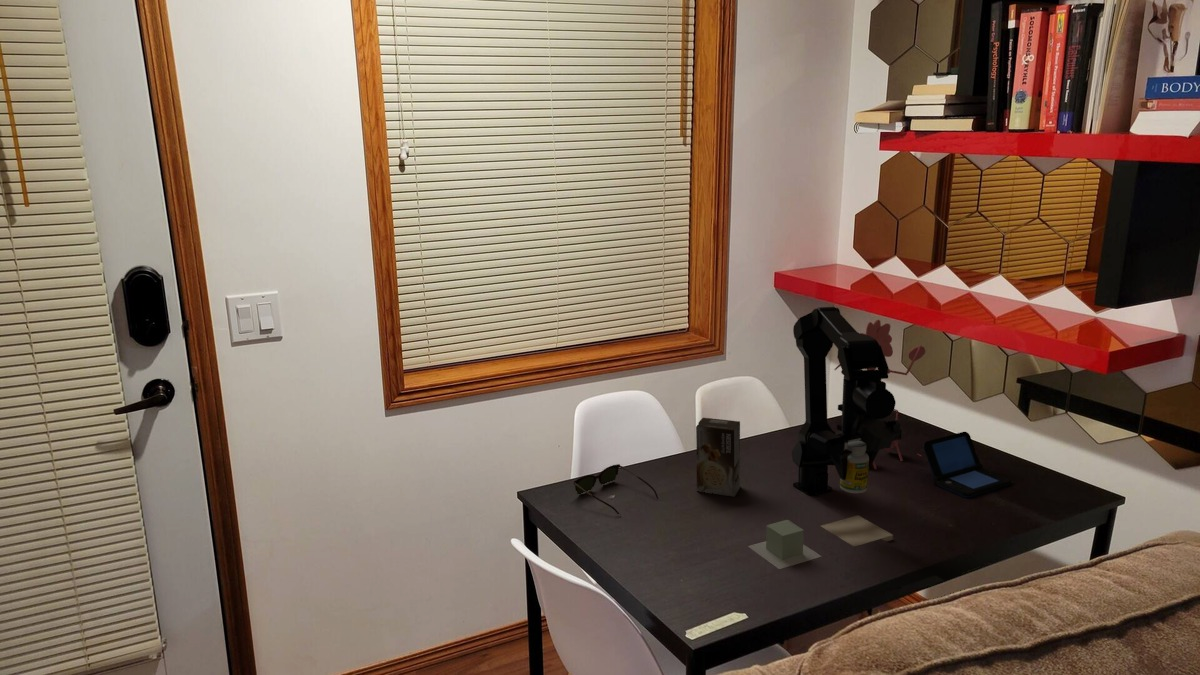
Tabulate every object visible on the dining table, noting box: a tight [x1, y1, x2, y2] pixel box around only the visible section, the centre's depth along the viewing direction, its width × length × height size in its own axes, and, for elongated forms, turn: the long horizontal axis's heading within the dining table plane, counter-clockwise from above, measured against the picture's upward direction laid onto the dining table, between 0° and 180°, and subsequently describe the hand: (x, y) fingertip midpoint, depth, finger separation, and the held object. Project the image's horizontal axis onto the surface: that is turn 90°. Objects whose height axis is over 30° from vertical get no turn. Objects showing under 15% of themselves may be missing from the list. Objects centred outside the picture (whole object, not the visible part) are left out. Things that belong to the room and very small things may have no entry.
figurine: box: [833, 319, 926, 470], centre depth 207 cm, size 15×26×35 cm, turn 120°
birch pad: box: [820, 514, 894, 548], centre depth 172 cm, size 10×10×1 cm
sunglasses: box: [573, 463, 659, 515], centre depth 191 cm, size 14×15×5 cm
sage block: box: [765, 519, 805, 560], centre depth 163 cm, size 5×5×5 cm
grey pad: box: [747, 540, 823, 570], centre depth 164 cm, size 10×10×1 cm
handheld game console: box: [922, 431, 1012, 498], centre depth 194 cm, size 16×13×9 cm
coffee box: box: [695, 417, 741, 497], centre depth 193 cm, size 9×6×16 cm
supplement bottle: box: [839, 440, 869, 494], centre depth 168 cm, size 5×5×10 cm
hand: (854, 476), depth 169 cm, fingers closed on supplement bottle, 5 cm apart
